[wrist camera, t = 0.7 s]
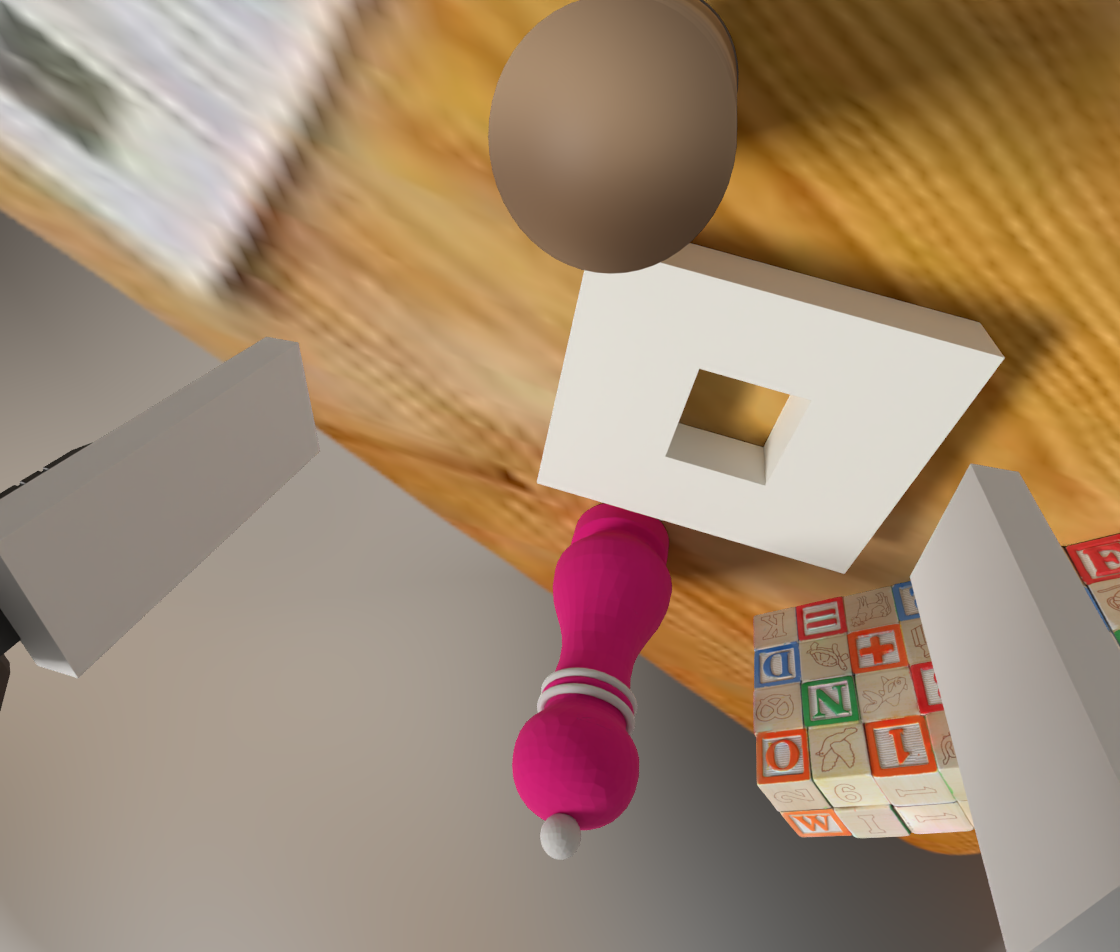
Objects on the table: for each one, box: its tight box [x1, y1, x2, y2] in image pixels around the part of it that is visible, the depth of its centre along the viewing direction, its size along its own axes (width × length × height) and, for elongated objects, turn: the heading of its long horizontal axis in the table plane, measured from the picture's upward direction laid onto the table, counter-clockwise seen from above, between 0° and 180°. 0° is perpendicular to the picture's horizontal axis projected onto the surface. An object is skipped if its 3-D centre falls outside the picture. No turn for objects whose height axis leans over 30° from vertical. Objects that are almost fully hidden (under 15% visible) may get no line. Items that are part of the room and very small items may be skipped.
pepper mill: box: [512, 503, 672, 859], centre depth 34 cm, size 7×7×20 cm
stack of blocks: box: [753, 534, 1120, 838], centre depth 36 cm, size 21×6×12 cm, turn 125°
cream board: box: [537, 243, 1005, 574], centre depth 33 cm, size 14×18×4 cm
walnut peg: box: [488, 0, 738, 274], centre depth 21 cm, size 6×6×14 cm
